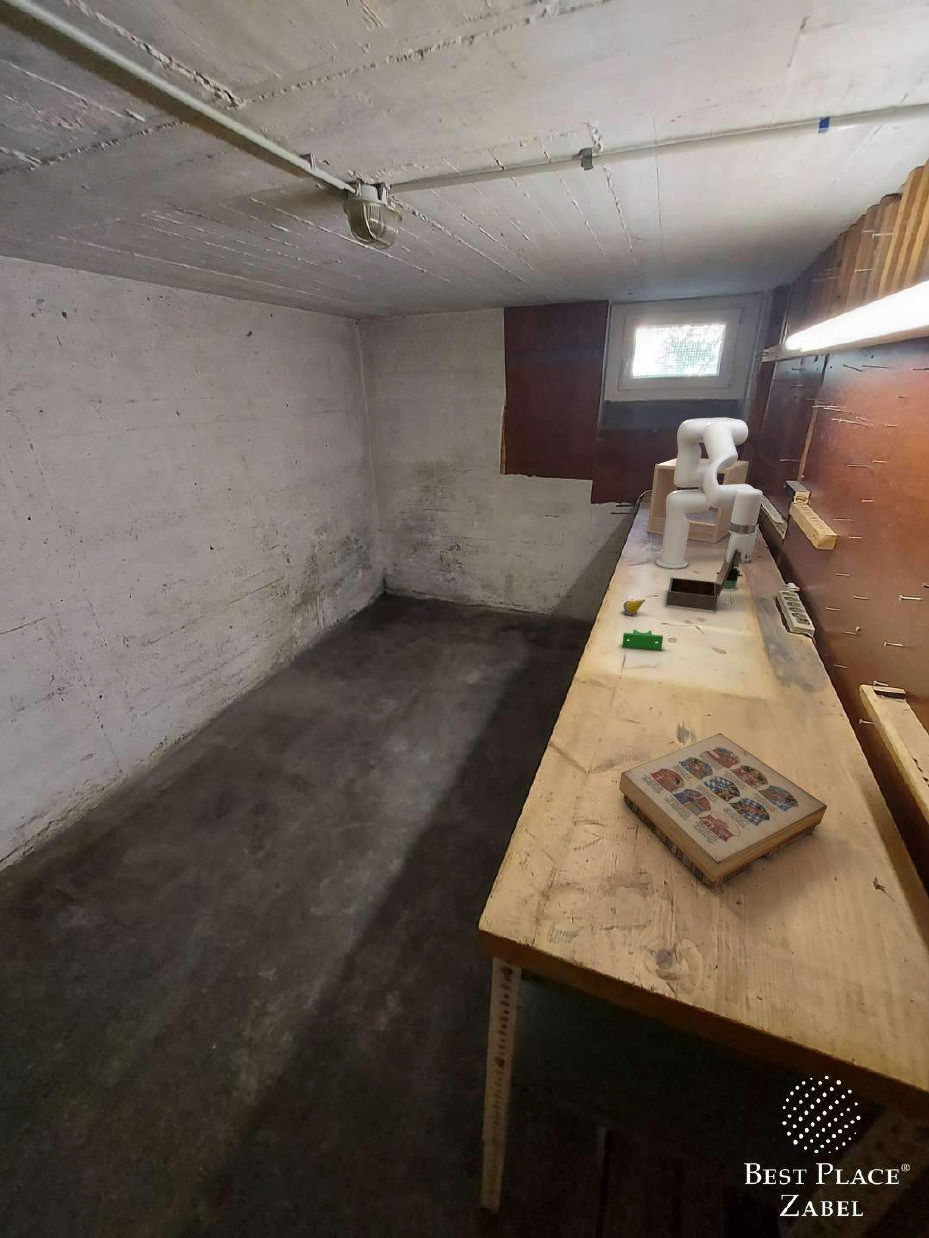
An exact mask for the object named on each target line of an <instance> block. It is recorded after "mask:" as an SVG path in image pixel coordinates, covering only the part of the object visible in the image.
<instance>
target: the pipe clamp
mask: <svg viewBox="0 0 929 1238" xmlns="http://www.w3.org/2000/svg"><path fill="white" fill-rule="evenodd" d="M652 632H653V631H652V630H648V631H647V632H640V631H638V630H637V629H632V632H623V634H622V644H621V646H622V648H628V649H640V650H652V651H662V647H663V641H664V635H662V634H653V633H652Z"/></svg>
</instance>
